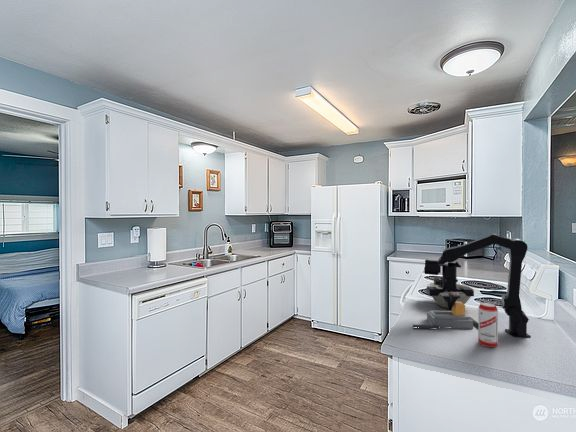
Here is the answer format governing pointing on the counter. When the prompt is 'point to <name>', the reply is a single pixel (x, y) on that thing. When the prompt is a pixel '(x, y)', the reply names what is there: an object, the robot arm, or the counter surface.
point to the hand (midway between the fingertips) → (449, 309)
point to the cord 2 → (474, 322)
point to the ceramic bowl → (440, 299)
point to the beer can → (488, 324)
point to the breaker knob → (458, 309)
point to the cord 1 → (426, 326)
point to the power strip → (449, 319)
